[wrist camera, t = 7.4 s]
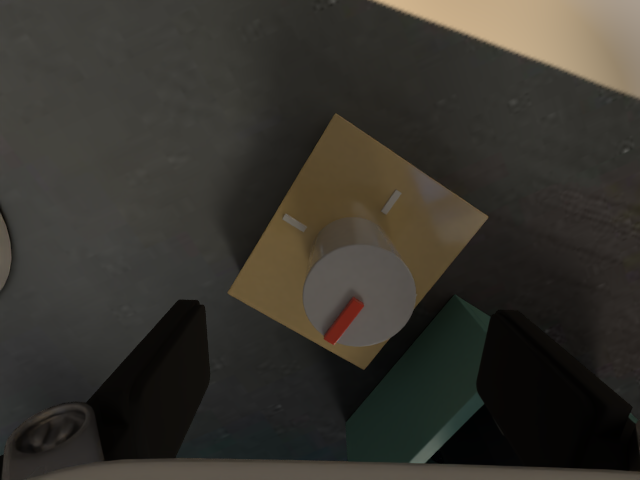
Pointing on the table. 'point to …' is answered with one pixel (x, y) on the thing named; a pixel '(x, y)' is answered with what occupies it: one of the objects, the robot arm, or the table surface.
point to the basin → (424, 392)
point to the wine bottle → (479, 443)
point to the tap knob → (357, 284)
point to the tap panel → (353, 201)
